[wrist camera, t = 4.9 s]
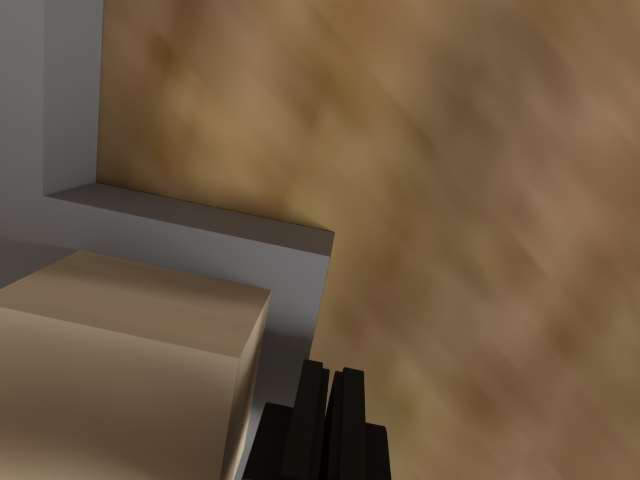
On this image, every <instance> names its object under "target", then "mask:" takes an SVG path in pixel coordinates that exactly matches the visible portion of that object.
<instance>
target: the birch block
mask: <svg viewBox="0 0 640 480" xmlns="http://www.w3.org/2000/svg"><path fill="white" fill-rule="evenodd" d="M270 296H271V290H266V289H262V288H257V287H252V286H247V285H243V284H238V283H233V282H229V281H224V280H219V279H214V278H210V277H205V276H200V275H196V274H191V273H186V272H182V271H177V270H172V269H167V268H163V267H158V266H153V265H149V264H144V263H139V262H134V261H130V260H125V259H120V258H116V257H111V256H106V255H101V254H97V253H92V252H87V251H83V250H79V251H77V252H75V253H73V254H71V255H69V256H67V257H65V258H63V259H61V260H59V261H57V262H55V263H53V264H51V265H49V266H46V267H44V268H42V269H40V270H38V271H36V272H34V273H32V274H30V275H28V276H26V277H24V278H22V279H20V280H18V281H16V282H14V283H12V284H10V285H8V286H6V287H4V288H2V289H0V480H234V477H235V474H236V471H237V468H238V465H239V462H240V459H241V456H242V453H243V450H244V445H245V440H246V434H247V428H248V422H249V417H250V411H251V405H252V399H253V394H254V388H255V382H256V376H257V371H258V365H259V359H260V353H261V348H262V342H263V336H264V330H265V325H266V319H267V313H268V307H269V302H270Z"/></svg>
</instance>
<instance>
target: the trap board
mask: <svg viewBox="0 0 640 480" xmlns="http://www.w3.org/2000/svg"><path fill="white" fill-rule="evenodd" d="M103 4H104V0H0V289H2V288H4V287H6V286H8V285H10V284H12V283H14V282H16V281H18V280H20V279H22V278H24V277H26V276H28V275H30V274H32V273H34V272H36V271H38V270H40V269H42V268H44V267H46V266H49V265H51V264H53V263H55V262H57V261H59V260H61V259H63V258H65V257H67V256H69V255H71V254H73V253H75V252H77V251H79V250H83V251H87V252H92V253H97V254H101V255H106V256H111V257H116V258H120V259H125V260H130V261H134V262H139V263H144V264H149V265H153V266H158V267H163V268H167V269H172V270H177V271H182V272H186V273H191V274H196V275H200V276H205V277H210V278H214V279H219V280H224V281H229V282H233V283H238V284H243V285H247V286H252V287H257V288H262V289H266V290H271V296H270V302H269V307H268V313H267V319H266V325H265V330H264V336H263V342H262V348H261V353H260V359H259V365H258V371H257V376H256V382H255V388H254V394H253V399H252V405H251V411H250V417H249V422H248V428H247V434H246V440H245V445H244V450H243V453H242V456H241V459H240V462H239V465H238V468H237V471H236V474H235V477H234V480H241V479H242V476H243V473H244V470H245V466H246V463H247V460H248V457H249V454H250V450H251V447H252V444H253V441H254V438H255V435H256V431H257V428H258V425H259V422H260V419H261V415H262V412H263V409H264V406H265V403H266V402H270V403H274V404H279V405H284V406H289V407H294V403H295V399H296V394H297V389H298V385H299V380H300V375H301V370H302V366H303V361H304V359H307V360H308V359H309V355H310V350H311V345H312V340H313V336H314V331H315V326H316V322H317V317H318V312H319V308H320V303H321V298H322V294H323V289H324V284H325V280H326V275H327V270H328V266H329V261H330V256H331V251H332V245H333V239H334V234H335V232H330V231H325V230H320V229H315V228H311V227H306V226H301V225H296V224H292V223H287V222H282V221H277V220H273V219H268V218H263V217H258V216H254V215H249V214H244V213H239V212H235V211H230V210H225V209H220V208H215V207H211V206H206V205H201V204H196V203H192V202H187V201H182V200H177V199H173V198H168V197H163V196H158V195H154V194H149V193H144V192H139V191H135V190H130V189H125V188H120V187H116V186H111V185H106V184H101V183H96V166H97V143H98V119H99V96H100V73H101V50H102V27H103Z"/></svg>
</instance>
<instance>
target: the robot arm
mask: <svg viewBox="0 0 640 480" xmlns="http://www.w3.org/2000/svg"><path fill="white" fill-rule="evenodd" d="M322 367H323V363H322V362H317V361H312V360H307V359H304V361H303V366H302V370H301V375H300V380H299V385H298V389H297V394H296V399H295V403H294V407H289V406H284V405H279V404H274V403H270V402H266V403H265V406H264V409H263V412H262V415H261V419H260V422H259V425H258V428H257V431H256V435H255V438H254V441H253V444H252V447H251V450H250V454H249V457H248V460H247V463H246V466H245V470H244V473H243V476H242V479H241V480H391V471H390V461H389V450H388V440H387V431H386V428H385V426H380V425H375V424H370V423H366V422H365V392H364V371H361V370H356V369H351V368H346V367H344V368H343V372H339V371H335V375H334V379H333V384H332V388H331V393H330V397H329V402H328V406H327V411H326V401H327V391H328V381H329V372H330V370H329V369H324V368H322ZM325 411H326V415H325Z"/></svg>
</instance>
